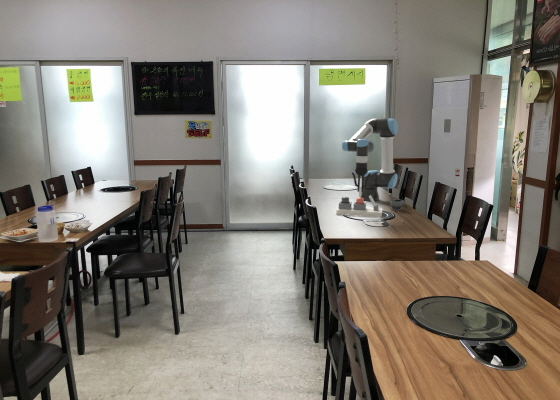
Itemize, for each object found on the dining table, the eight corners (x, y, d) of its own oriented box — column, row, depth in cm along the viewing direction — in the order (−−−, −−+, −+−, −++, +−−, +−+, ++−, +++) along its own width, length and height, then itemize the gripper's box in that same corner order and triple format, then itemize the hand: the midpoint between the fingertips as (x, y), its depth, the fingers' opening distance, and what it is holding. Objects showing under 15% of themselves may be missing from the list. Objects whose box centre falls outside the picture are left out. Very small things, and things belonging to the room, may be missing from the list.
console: (339, 209, 323) (339, 200, 322) (382, 212, 316) (382, 202, 315) (336, 214, 308) (336, 204, 307) (381, 217, 301) (381, 206, 300)
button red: (356, 204, 314) (356, 197, 313) (363, 205, 313) (364, 197, 312) (355, 206, 309) (356, 198, 308) (363, 206, 308) (363, 199, 307)
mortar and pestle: (402, 208, 329) (403, 192, 327) (404, 211, 320) (405, 194, 317) (386, 208, 330) (387, 192, 327) (388, 211, 320) (389, 194, 318)
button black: (342, 203, 316) (342, 196, 315) (349, 204, 315) (349, 197, 314) (341, 205, 312) (341, 198, 311) (348, 205, 310) (348, 198, 310)
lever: (375, 208, 311) (369, 196, 310) (377, 207, 310) (370, 195, 310) (375, 209, 307) (368, 197, 307) (377, 208, 307) (370, 196, 306)
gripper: (351, 162, 303) (350, 197, 308) (371, 163, 300) (369, 198, 305) (352, 161, 311) (351, 195, 315) (371, 162, 307) (370, 196, 312)
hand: (360, 196), depth 310 cm, fingers closed
